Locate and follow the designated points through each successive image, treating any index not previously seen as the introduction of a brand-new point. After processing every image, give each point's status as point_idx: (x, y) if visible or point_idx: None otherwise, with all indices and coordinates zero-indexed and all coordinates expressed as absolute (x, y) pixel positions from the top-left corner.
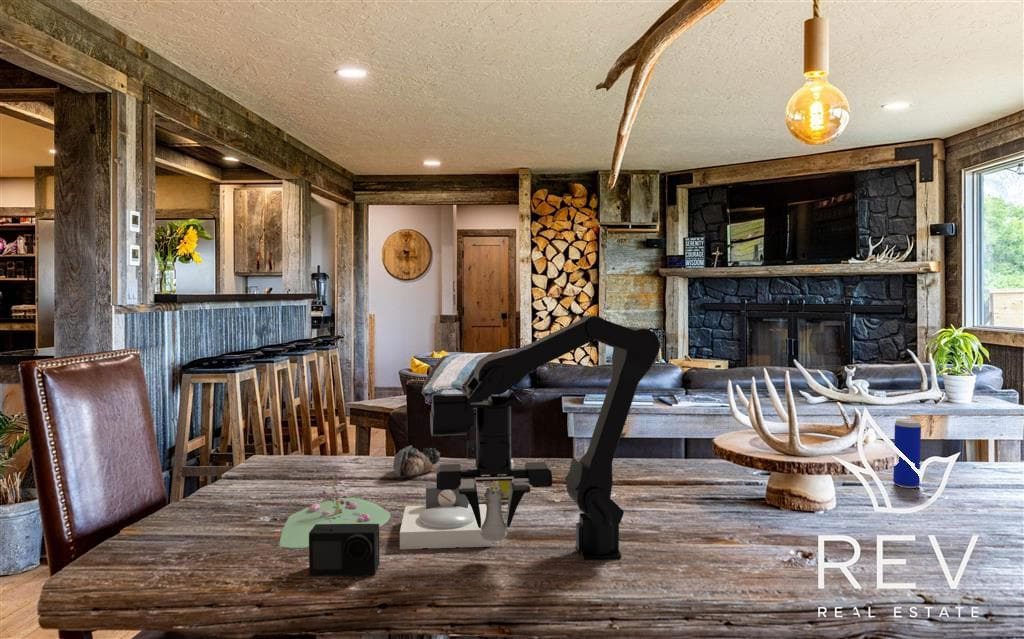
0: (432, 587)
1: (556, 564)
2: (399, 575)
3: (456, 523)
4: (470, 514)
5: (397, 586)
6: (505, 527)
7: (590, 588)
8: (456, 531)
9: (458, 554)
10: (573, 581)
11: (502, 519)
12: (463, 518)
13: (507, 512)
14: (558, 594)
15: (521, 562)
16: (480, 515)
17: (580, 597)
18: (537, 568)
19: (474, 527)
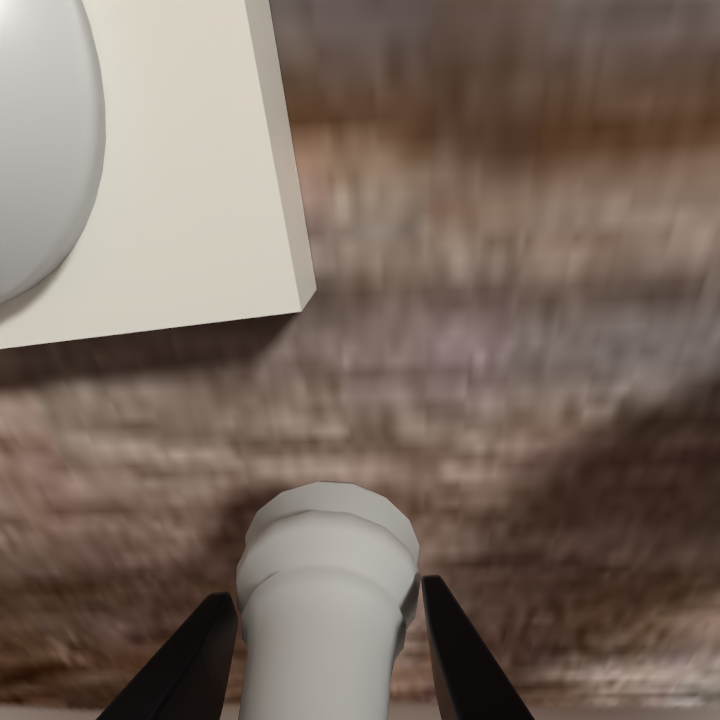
0: (157, 649)
1: (623, 484)
2: (3, 582)
3: (1, 295)
4: (26, 21)
5: (41, 646)
6: (412, 620)
7: (691, 648)
8: (57, 341)
9: (161, 396)
10: (648, 609)
11: (393, 662)
12: (7, 165)
13: (445, 708)
14: (570, 679)
15: (467, 470)
16: (198, 718)
17: (636, 692)
18: (531, 520)
19: (160, 276)
